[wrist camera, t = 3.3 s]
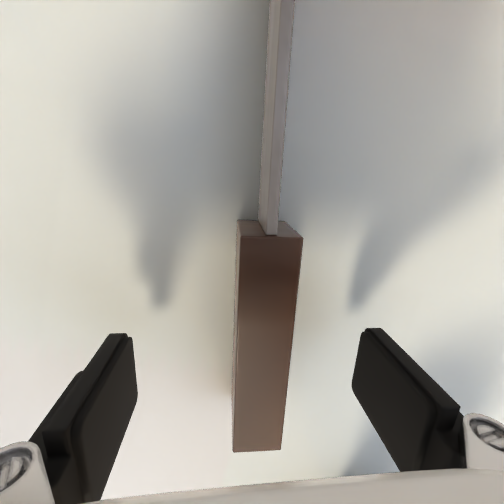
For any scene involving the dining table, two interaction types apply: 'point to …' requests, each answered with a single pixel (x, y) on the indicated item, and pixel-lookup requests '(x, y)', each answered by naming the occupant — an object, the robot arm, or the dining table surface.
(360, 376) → the robot arm
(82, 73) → the dining table surface
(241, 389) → the knife
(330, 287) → the dining table surface
